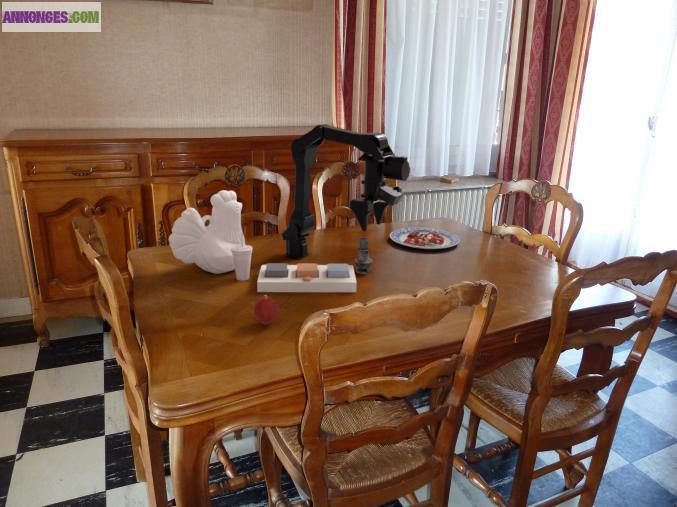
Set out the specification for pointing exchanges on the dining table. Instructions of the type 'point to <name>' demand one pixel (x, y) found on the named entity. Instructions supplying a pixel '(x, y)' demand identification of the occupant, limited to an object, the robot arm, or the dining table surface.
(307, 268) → the terracotta key
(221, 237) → the decorative rooster
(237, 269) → the smoothie
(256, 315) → the onion
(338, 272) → the blue key
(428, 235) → the ceramic plate
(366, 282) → the dining table surface
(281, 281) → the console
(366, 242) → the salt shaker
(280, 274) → the charcoal key
